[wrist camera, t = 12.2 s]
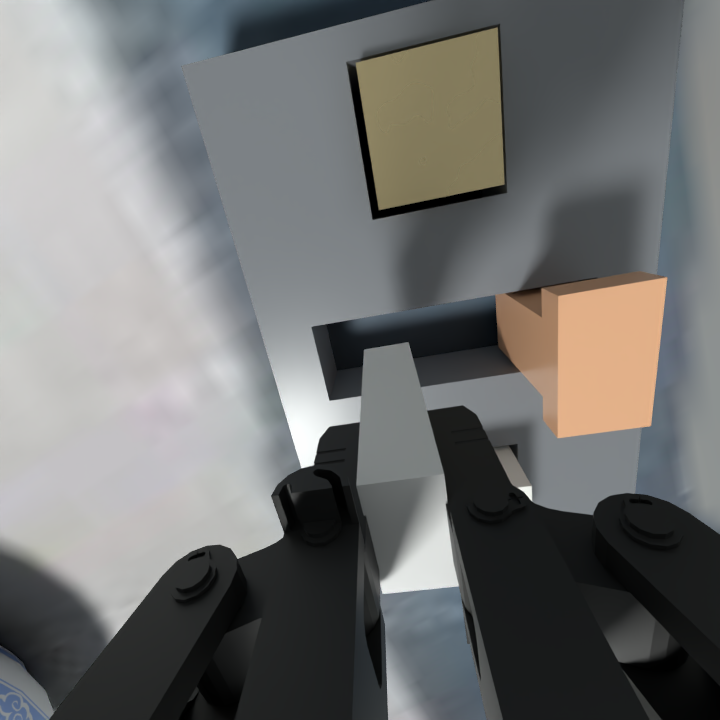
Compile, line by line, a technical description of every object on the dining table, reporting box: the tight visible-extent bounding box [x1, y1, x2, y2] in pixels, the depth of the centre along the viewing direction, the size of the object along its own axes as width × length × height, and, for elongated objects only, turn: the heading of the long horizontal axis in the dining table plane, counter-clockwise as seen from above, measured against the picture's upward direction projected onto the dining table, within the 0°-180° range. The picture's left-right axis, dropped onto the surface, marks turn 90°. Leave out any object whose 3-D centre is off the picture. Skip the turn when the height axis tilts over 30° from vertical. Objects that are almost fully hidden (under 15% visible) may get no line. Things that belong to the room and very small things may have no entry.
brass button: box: [356, 27, 504, 210], centre depth 14 cm, size 4×4×4 cm
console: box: [181, 0, 684, 515], centre depth 17 cm, size 23×16×4 cm
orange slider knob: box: [495, 271, 667, 438], centre depth 15 cm, size 5×3×6 cm, turn 11°
